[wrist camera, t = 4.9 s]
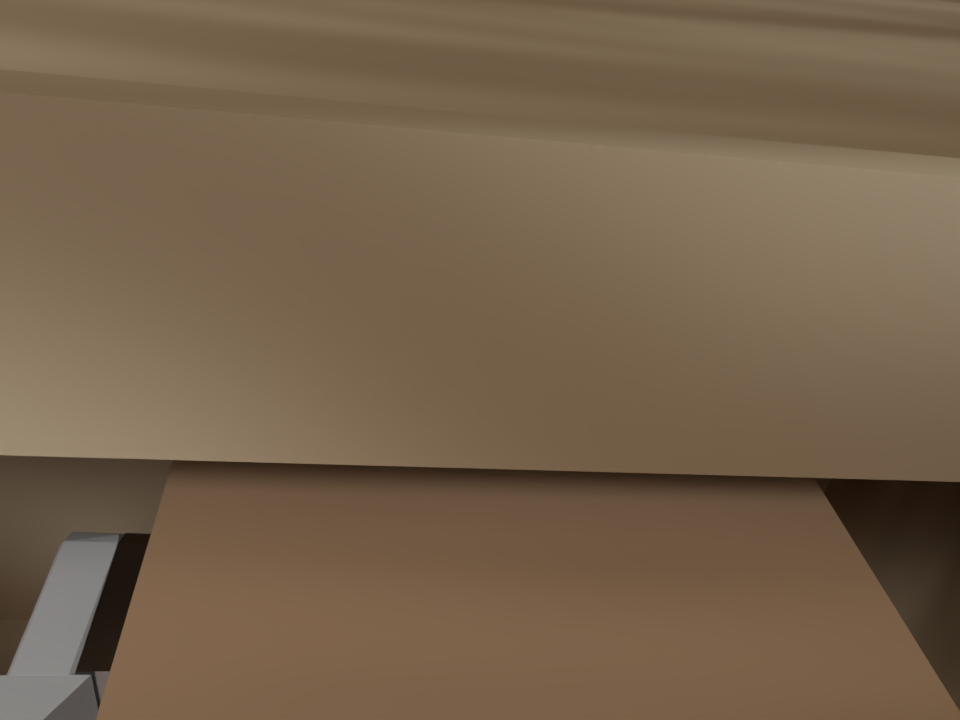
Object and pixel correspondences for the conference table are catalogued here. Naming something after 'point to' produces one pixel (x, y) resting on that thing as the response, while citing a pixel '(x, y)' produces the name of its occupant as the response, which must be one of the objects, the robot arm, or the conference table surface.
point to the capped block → (507, 600)
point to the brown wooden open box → (484, 255)
